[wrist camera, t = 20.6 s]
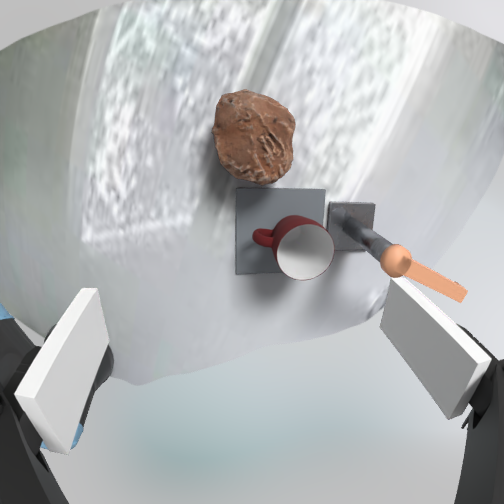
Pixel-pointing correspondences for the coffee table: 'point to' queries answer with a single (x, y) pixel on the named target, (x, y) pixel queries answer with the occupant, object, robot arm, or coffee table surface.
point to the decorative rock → (253, 136)
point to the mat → (269, 221)
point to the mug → (298, 246)
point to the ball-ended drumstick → (418, 272)
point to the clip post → (355, 228)
